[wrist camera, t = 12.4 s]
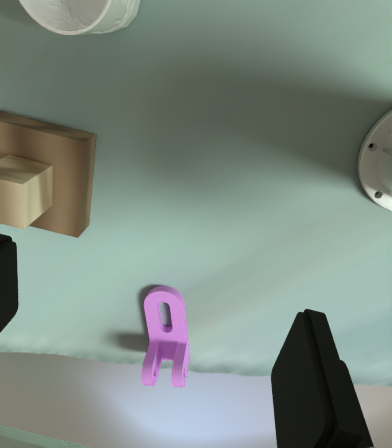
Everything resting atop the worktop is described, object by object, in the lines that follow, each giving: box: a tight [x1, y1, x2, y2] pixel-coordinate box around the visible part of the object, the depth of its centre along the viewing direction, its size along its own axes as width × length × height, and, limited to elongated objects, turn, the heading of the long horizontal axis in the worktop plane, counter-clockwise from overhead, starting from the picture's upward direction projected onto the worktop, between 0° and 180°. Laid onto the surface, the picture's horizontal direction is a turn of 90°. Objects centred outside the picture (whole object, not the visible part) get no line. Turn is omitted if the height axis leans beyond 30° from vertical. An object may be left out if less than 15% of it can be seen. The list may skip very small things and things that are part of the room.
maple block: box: [0, 155, 53, 229], centre depth 37 cm, size 5×5×6 cm
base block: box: [0, 111, 96, 238], centre depth 42 cm, size 12×12×4 cm
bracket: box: [142, 286, 190, 387], centre depth 49 cm, size 13×6×7 cm, turn 4°
